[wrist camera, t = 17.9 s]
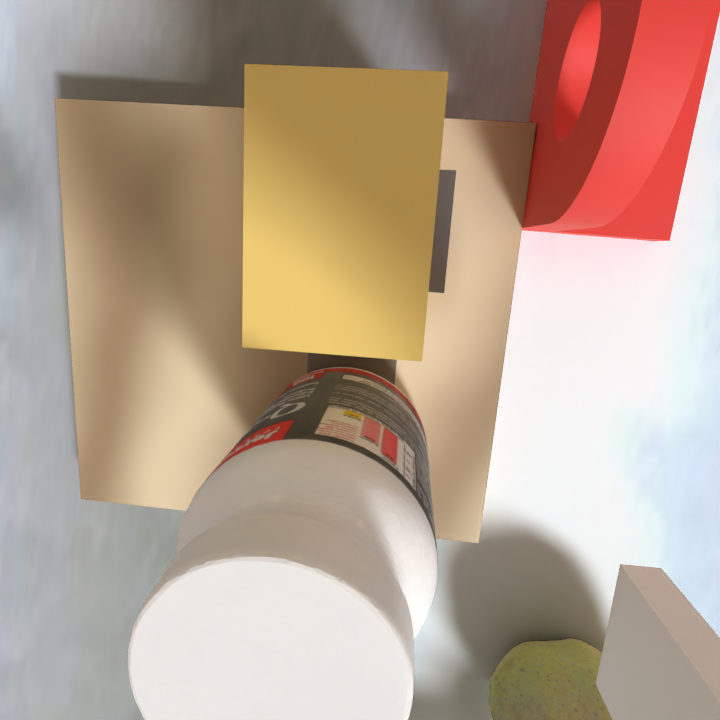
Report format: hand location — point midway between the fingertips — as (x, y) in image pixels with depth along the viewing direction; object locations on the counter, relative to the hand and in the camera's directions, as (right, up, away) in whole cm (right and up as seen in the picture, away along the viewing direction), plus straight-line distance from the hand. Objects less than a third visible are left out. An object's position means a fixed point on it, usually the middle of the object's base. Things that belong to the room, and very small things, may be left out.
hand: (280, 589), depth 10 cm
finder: (0, +8, +2) cm, 8 cm away
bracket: (+9, +15, +5) cm, 18 cm away
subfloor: (-1, +6, +8) cm, 10 cm away
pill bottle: (+1, +2, +8) cm, 8 cm away
